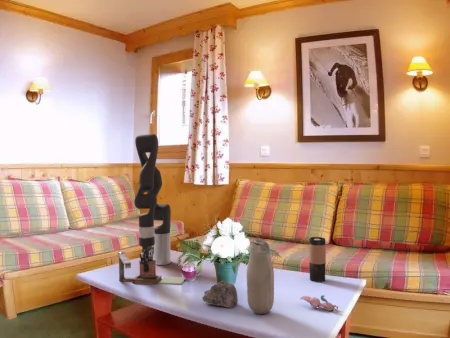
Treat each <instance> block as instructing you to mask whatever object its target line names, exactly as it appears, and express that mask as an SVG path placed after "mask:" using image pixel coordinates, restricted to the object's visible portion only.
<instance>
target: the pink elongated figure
mask: <svg viewBox="0 0 450 338" xmlns="http://www.w3.org/2000/svg"><path fill="white" fill-rule="evenodd" d="M299 300H304V301H305V302H307V303H309V304H310V306H311V307H313V308H315V309H318V308H317V307H319V308H320V307H321V308H322V309H324V308H326V309H325V310H326V311H328V310H333V311H336V312H337V310H338V309H339V306H338V305H336V304H332V303H331V302H328V300H327V299H326V298H325V295H324V294H321V295H320V299H319V297H311V296H309V295H305V296H302V297H299ZM321 301H323V303H322V302H321Z"/></svg>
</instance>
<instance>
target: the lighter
mask: <svg viewBox="0 0 450 338" xmlns="http://www.w3.org/2000/svg"><path fill="white" fill-rule="evenodd" d="M146 258H148V257H146ZM138 263H139V275H140V277H156V275H157V273H156V271H157V270H156V267H157V266H156V264H155V263H156V260H154V255H153V256H150V259H149V262H148V265H149V271H148V272H144V264H141V259H140V260H139V261H138Z"/></svg>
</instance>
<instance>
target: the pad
mask: <svg viewBox="0 0 450 338" xmlns="http://www.w3.org/2000/svg"><path fill="white" fill-rule="evenodd" d="M182 277H183V276H182ZM182 277H180V276H178V277H177V276H163V277H162V280H161V281H159V283H158V285H159V284H160V285H176V286H177V285H178V286H179V285H180V286H181V285H182V284H183V283H184V282H185V281H184V279H183V278H182Z"/></svg>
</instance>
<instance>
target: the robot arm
mask: <svg viewBox="0 0 450 338" xmlns="http://www.w3.org/2000/svg"><path fill="white" fill-rule="evenodd" d="M134 144H135V148H136V152H137V156H138V159H139V162H140V166H141V170H140V173H139V179H138V188H137V192H136V195H135V197H134V199H133V200H134V202H133V203H134V204H133V205H134V206H135V208H136V209H138V210H144V209H145V210H148V209H149V210H148V211H147V212H143V213H141V214H139V215H138V245H139V247H142V249H141V253H139V259H140V260H141V264H144V272H148V271H149V265H148V262H149V259H150V256H153V260H156V263H155V266H156V265H157V266H166V265H169V264H171V262H172V261H171V260H172V259H171V257H172V256H171V255H172V253H171V252H172V251H171V219H172V218H171V217H172V216H171V215H172V213H171V211H172V209H171V206H170V204H168V203H158V198H157V197H158V194H159V193H160V191H161V189H162V187H163V186H162V185H163V178H162V173H161V171H160V170H159V168H158V167H157V166H156V164H157V158H158V152H159V139H158V136H157V135H156V134H154V133H149V134H148V133H147V134H139V135H136V137H135V139H134ZM147 153H149V157H148V155H147ZM155 221H159V222H160V221H161V222H162V224H161V225H158V226H155V225H154V224H155ZM146 257H148V258H146Z"/></svg>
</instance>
